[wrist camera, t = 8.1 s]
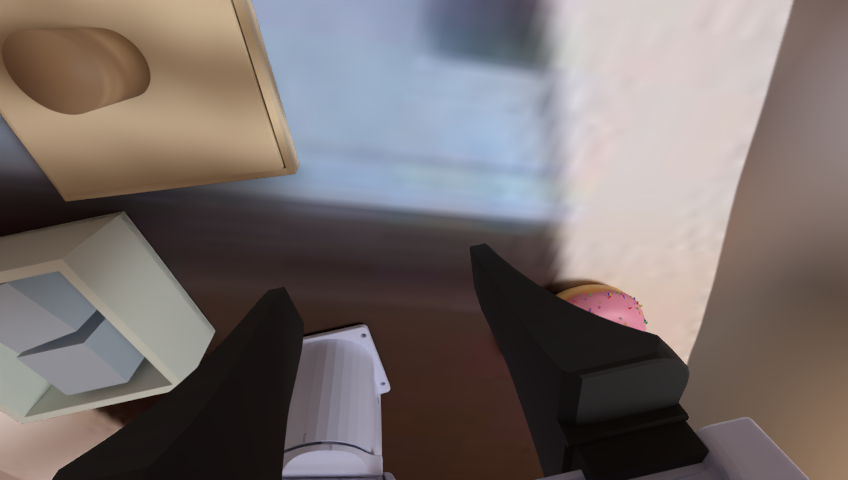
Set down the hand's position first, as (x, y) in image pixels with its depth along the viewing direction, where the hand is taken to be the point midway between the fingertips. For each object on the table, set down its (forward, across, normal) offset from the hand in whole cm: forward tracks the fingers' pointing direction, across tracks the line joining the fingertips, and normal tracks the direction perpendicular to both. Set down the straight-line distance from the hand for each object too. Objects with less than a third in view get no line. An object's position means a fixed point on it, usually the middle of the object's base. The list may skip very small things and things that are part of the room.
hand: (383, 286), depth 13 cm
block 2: (+10, +21, +6) cm, 24 cm away
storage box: (+10, +21, +4) cm, 24 cm away
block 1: (+10, +21, +2) cm, 23 cm away
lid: (+10, +10, -9) cm, 17 cm away
